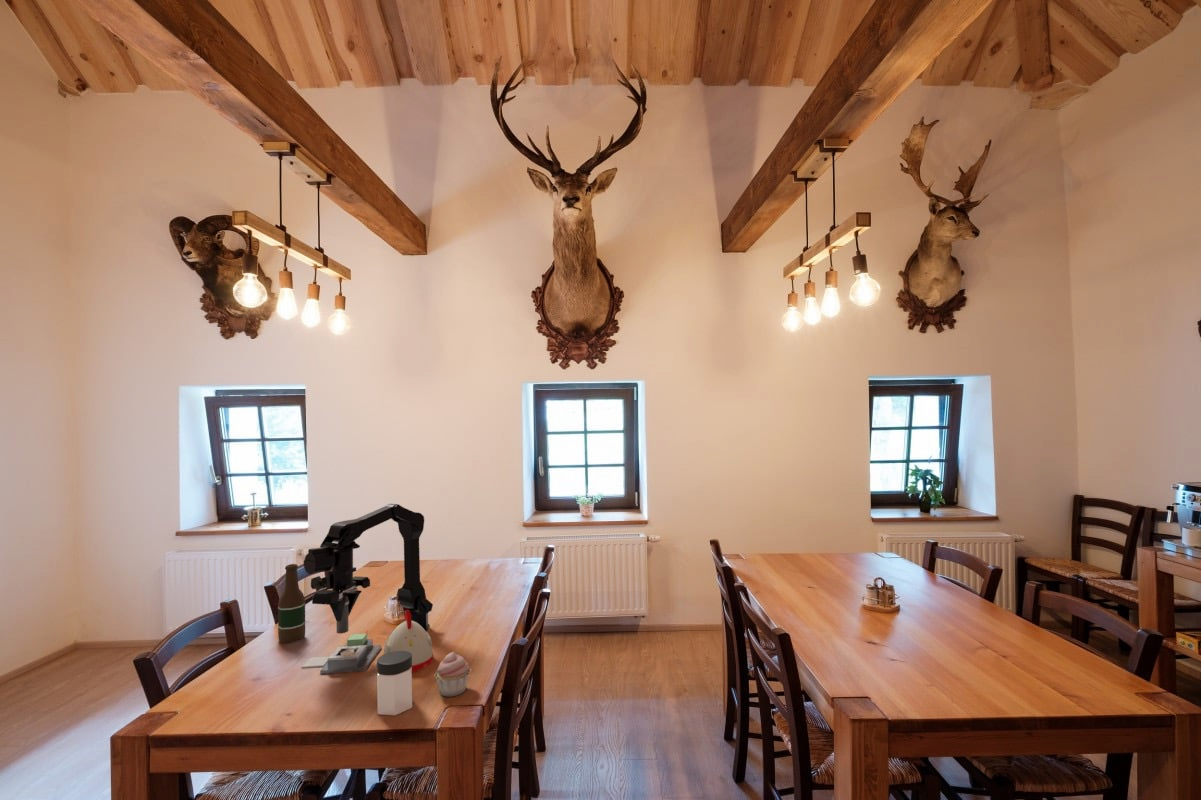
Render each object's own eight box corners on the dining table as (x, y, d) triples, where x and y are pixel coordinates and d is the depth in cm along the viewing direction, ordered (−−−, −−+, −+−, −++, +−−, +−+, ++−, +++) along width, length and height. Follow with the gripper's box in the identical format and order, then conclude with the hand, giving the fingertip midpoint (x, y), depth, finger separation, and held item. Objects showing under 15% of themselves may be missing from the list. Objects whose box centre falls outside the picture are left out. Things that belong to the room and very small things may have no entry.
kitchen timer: (385, 677, 152) (385, 622, 152) (380, 659, 164) (379, 607, 165) (437, 666, 158) (436, 612, 159) (428, 649, 170) (427, 599, 171)
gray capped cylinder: (341, 628, 165) (341, 594, 166) (351, 629, 165) (351, 595, 165) (333, 633, 162) (333, 598, 162) (343, 634, 161) (343, 599, 162)
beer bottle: (310, 635, 184) (310, 562, 185) (290, 644, 177) (290, 568, 178) (293, 633, 187) (292, 561, 187) (272, 642, 179) (272, 567, 180)
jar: (402, 694, 142) (402, 647, 142) (420, 704, 136) (419, 655, 137) (369, 709, 135) (368, 659, 135) (386, 720, 130) (385, 668, 130)
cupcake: (472, 696, 140) (472, 656, 140) (434, 703, 137) (433, 662, 138) (470, 680, 149) (470, 642, 149) (434, 686, 146) (433, 647, 146)
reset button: (356, 654, 161) (356, 649, 162) (351, 659, 158) (351, 654, 158) (343, 655, 161) (343, 650, 161) (338, 660, 158) (338, 655, 158)
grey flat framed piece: (381, 648, 172) (381, 634, 172) (364, 671, 156) (364, 655, 156) (341, 650, 171) (340, 636, 171) (320, 674, 155) (320, 658, 155)
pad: (331, 657, 166) (331, 656, 166) (323, 666, 160) (323, 665, 160) (310, 659, 165) (310, 657, 165) (301, 668, 159) (301, 666, 159)
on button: (367, 640, 170) (367, 633, 170) (362, 645, 166) (362, 639, 166) (352, 641, 170) (352, 634, 170) (347, 646, 166) (347, 640, 166)
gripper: (339, 557, 175) (339, 607, 174) (295, 573, 157) (295, 629, 156) (371, 558, 173) (371, 609, 172) (329, 574, 154) (329, 631, 154)
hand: (342, 619), depth 163 cm, fingers closed on gray capped cylinder, 3 cm apart
